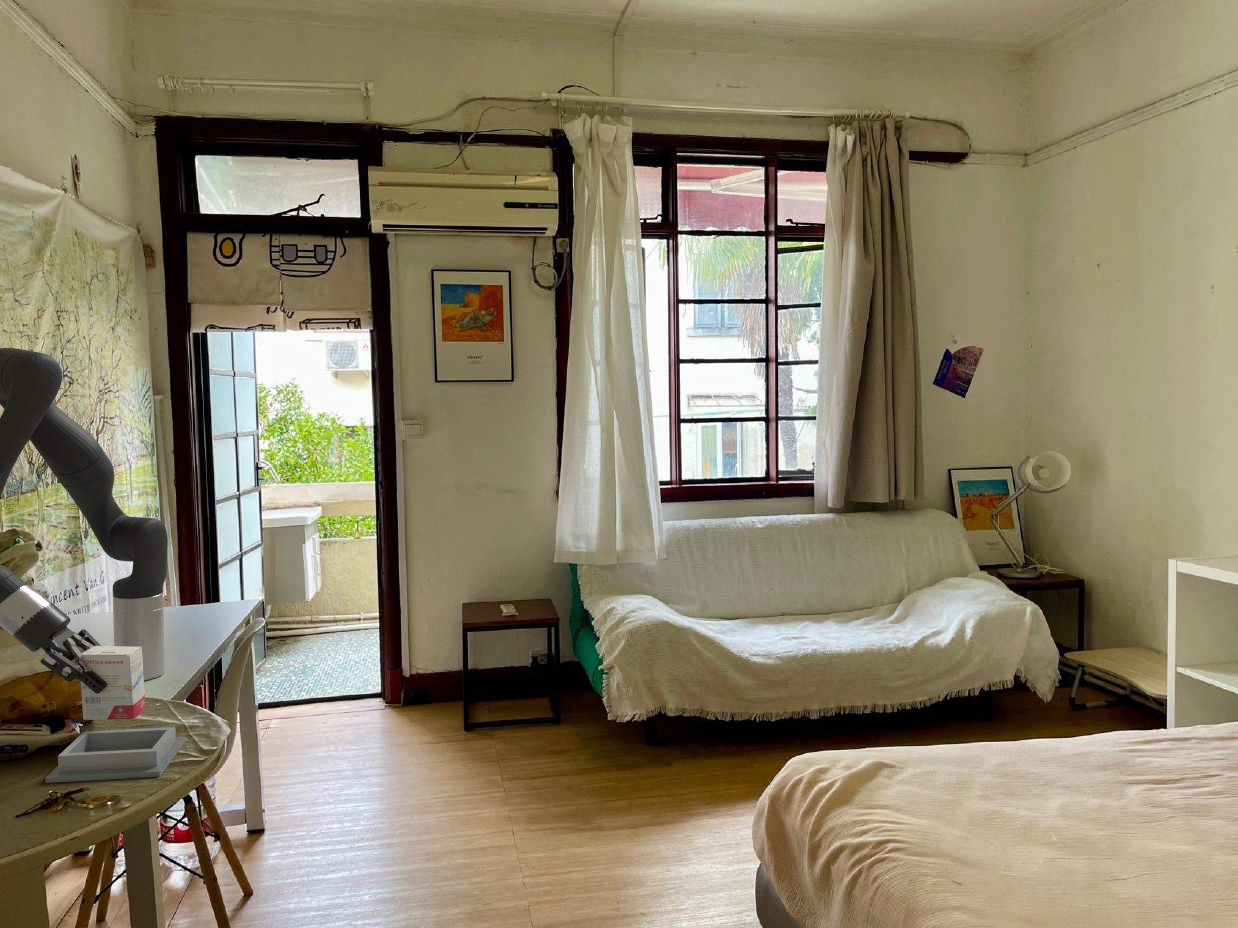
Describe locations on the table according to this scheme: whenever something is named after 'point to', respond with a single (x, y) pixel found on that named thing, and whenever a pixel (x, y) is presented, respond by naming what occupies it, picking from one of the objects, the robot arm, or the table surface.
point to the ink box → (114, 683)
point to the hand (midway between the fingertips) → (109, 683)
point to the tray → (117, 755)
